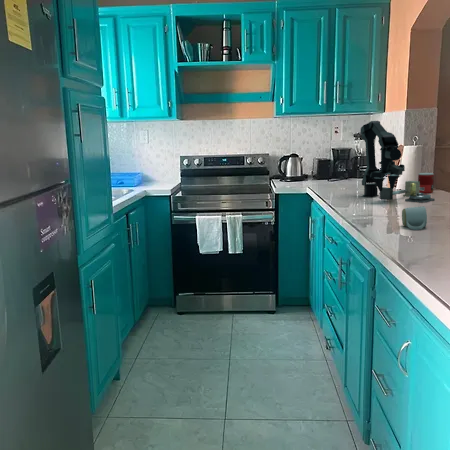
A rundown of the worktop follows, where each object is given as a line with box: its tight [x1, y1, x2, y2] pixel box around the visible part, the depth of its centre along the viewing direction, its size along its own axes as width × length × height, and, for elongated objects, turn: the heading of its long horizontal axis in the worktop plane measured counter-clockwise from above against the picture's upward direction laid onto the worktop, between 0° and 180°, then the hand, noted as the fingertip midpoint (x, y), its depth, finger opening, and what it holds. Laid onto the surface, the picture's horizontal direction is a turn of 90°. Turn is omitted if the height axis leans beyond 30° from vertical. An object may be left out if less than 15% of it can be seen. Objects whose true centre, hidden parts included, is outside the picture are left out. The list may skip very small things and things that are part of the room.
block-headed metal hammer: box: [379, 186, 407, 201], centre depth 241 cm, size 6×18×6 cm, turn 125°
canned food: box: [417, 172, 435, 195], centre depth 260 cm, size 8×8×11 cm
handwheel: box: [408, 183, 432, 200], centre depth 233 cm, size 10×10×8 cm
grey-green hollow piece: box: [402, 180, 420, 198], centre depth 249 cm, size 7×6×8 cm
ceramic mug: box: [401, 205, 428, 231], centre depth 173 cm, size 11×8×8 cm
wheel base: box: [404, 197, 435, 204], centre depth 234 cm, size 10×10×1 cm
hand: (386, 190), depth 236 cm, fingers open, 9 cm apart
